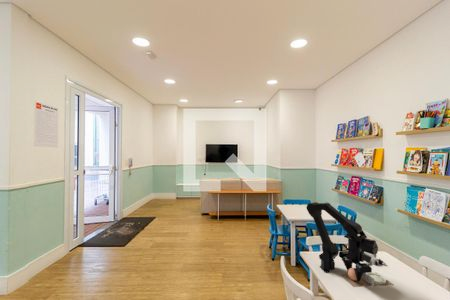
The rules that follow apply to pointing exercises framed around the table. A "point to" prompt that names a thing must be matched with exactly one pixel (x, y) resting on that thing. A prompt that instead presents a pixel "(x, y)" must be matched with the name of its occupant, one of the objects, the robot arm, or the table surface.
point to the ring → (378, 278)
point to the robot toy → (374, 259)
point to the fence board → (364, 281)
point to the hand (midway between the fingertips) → (354, 277)
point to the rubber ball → (352, 274)
